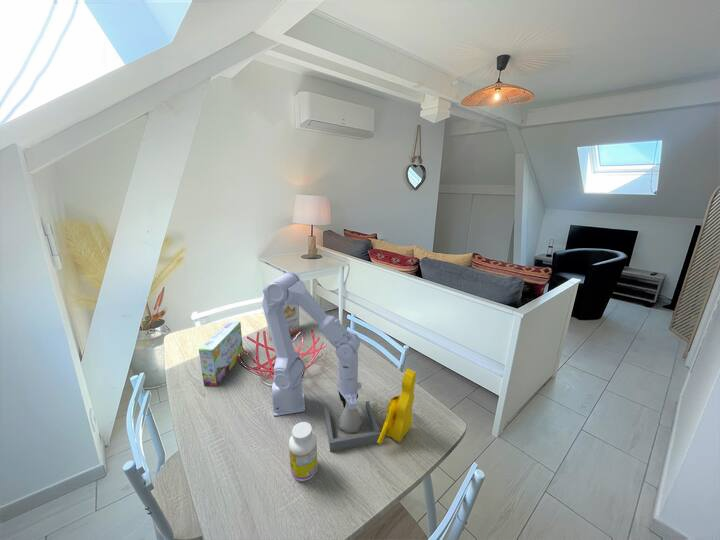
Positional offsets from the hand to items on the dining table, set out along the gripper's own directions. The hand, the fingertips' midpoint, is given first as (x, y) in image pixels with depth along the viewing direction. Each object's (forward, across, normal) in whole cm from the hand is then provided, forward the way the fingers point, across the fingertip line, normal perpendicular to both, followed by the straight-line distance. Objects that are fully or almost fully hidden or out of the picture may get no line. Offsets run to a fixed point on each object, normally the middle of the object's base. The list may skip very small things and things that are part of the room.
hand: (348, 410), depth 87 cm
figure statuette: (+2, -9, -13) cm, 16 cm away
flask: (+2, -3, 0) cm, 4 cm away
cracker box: (+2, +54, +20) cm, 58 cm away
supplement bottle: (+2, -14, +14) cm, 20 cm away
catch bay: (+2, -4, 0) cm, 5 cm away
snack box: (+2, +34, +42) cm, 54 cm away
